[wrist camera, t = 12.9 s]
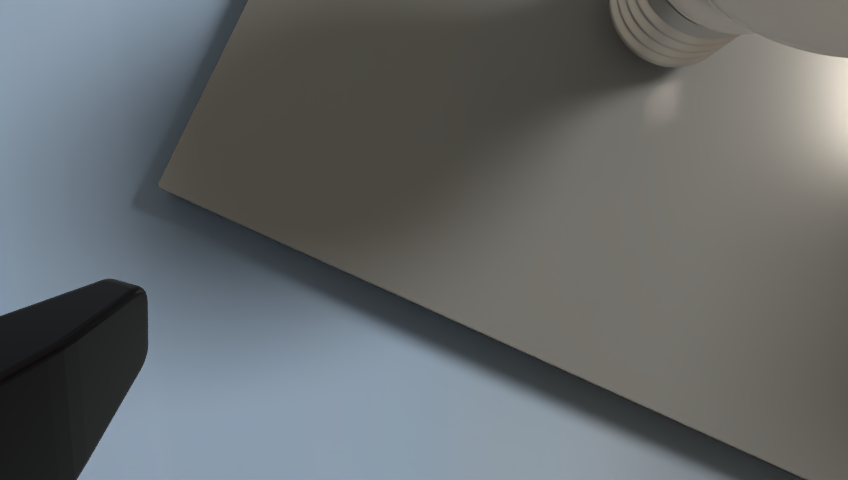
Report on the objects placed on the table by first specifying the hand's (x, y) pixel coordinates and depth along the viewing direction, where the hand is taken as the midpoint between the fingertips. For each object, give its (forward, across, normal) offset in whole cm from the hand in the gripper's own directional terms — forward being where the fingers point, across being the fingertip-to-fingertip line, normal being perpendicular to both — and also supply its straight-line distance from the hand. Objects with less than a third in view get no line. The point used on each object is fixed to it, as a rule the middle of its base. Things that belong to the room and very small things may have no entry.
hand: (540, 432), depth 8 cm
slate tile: (+13, -1, -1) cm, 13 cm away
